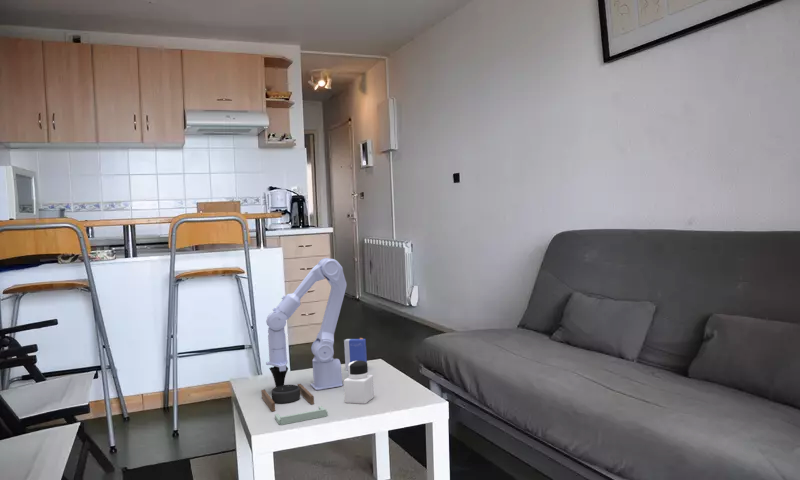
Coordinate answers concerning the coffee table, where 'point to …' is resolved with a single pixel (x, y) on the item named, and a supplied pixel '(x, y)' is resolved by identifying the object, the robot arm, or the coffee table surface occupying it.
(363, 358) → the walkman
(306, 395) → the chute
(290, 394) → the smart speaker
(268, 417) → the coffee table surface
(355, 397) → the medicine bottle
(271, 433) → the coffee table surface
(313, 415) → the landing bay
